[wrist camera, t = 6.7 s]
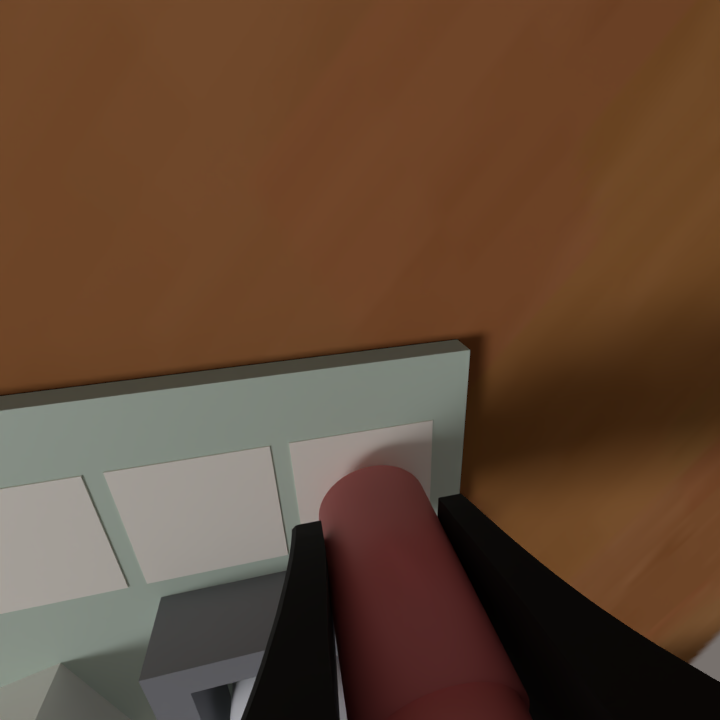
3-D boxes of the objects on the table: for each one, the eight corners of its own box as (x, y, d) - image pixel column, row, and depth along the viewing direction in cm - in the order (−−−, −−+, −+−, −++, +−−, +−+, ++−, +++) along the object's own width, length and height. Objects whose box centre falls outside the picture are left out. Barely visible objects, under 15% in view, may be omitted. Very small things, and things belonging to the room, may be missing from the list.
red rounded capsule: (426, 456, 10) (626, 803, 5) (423, 538, 12) (579, 897, 6) (313, 475, 10) (374, 895, 4) (323, 559, 11) (381, 976, 5)
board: (457, 339, 11) (517, 387, 8) (439, 647, 17) (470, 734, 14) (-391, 444, 8) (-726, 574, 5) (-56, 777, 14) (-134, 919, 11)
